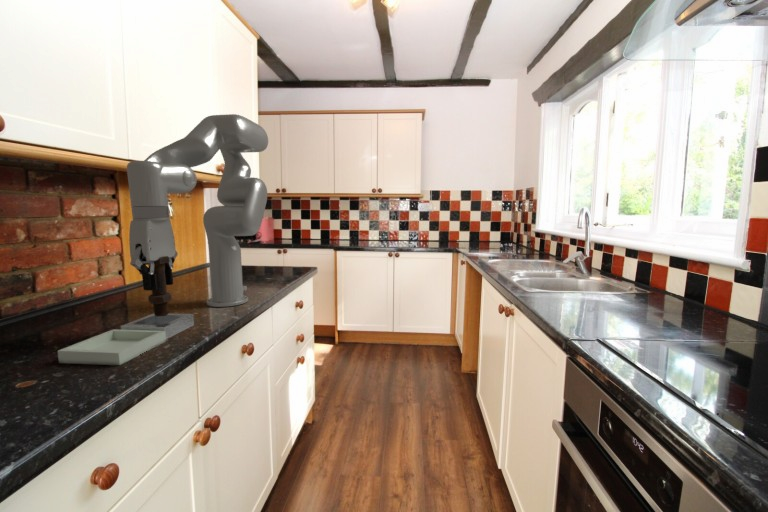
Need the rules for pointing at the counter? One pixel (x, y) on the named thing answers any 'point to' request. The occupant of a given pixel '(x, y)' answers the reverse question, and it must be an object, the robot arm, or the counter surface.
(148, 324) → the grey notched slab
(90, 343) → the tray
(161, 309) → the bolt
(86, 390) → the counter surface
